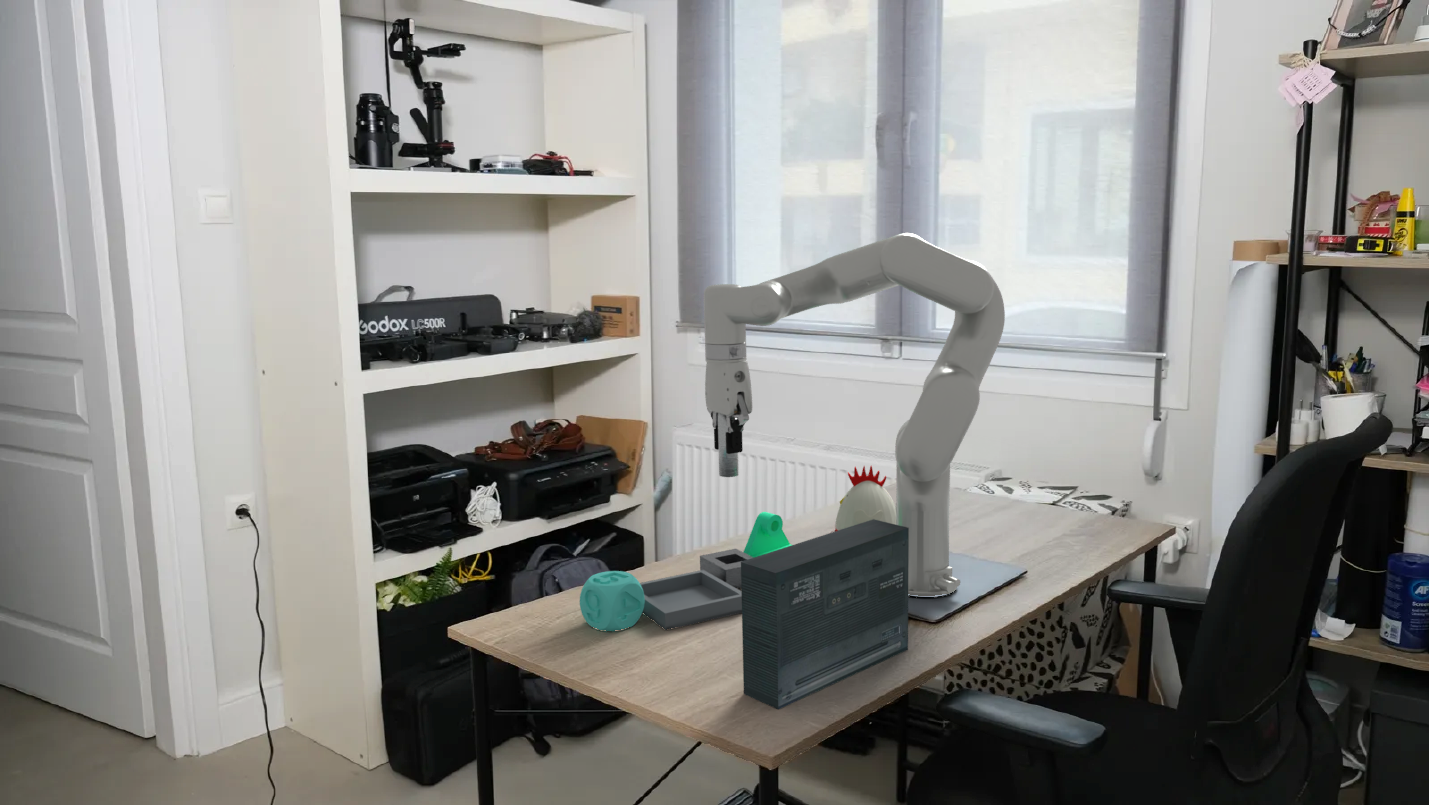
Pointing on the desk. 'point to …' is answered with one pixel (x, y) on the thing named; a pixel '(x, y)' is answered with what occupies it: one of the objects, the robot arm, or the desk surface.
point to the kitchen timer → (865, 501)
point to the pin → (726, 461)
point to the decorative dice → (612, 600)
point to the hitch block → (725, 565)
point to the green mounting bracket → (766, 535)
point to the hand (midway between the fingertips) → (728, 449)
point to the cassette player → (823, 610)
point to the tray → (689, 599)
